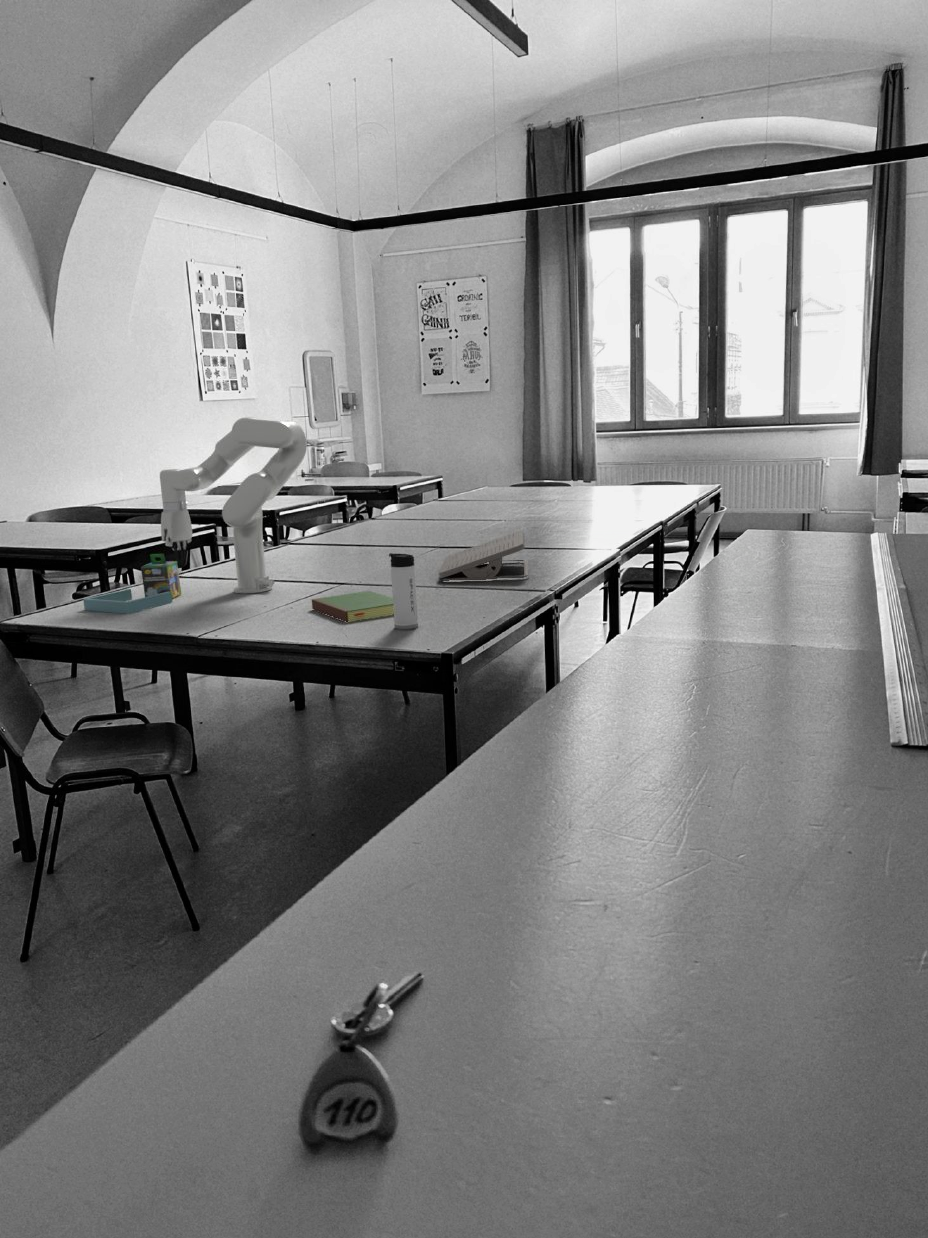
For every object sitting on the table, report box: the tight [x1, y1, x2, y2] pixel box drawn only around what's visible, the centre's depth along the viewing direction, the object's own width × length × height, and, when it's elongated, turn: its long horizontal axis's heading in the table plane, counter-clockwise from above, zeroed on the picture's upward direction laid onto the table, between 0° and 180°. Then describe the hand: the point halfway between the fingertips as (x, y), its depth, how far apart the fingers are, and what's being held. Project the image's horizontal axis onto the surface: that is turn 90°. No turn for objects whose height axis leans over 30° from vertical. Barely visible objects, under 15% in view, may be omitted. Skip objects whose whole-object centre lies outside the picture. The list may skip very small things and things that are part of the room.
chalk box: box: [140, 553, 182, 600], centre depth 324 cm, size 9×9×15 cm
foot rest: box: [438, 530, 529, 582], centre depth 344 cm, size 39×30×13 cm
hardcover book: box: [311, 590, 394, 623], centre depth 287 cm, size 25×19×4 cm
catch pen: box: [83, 588, 173, 615], centre depth 313 cm, size 19×18×4 cm
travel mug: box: [388, 552, 419, 631], centre depth 261 cm, size 6×7×20 cm
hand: (180, 561), depth 332 cm, fingers closed
